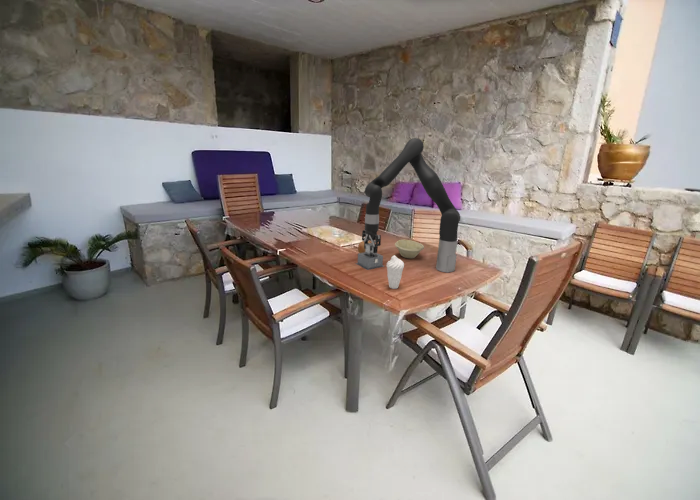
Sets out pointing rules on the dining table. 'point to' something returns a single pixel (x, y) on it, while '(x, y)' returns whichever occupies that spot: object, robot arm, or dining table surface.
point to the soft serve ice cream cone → (394, 271)
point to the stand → (370, 261)
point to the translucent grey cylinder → (369, 249)
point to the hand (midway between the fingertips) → (370, 250)
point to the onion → (362, 247)
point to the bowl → (408, 248)
